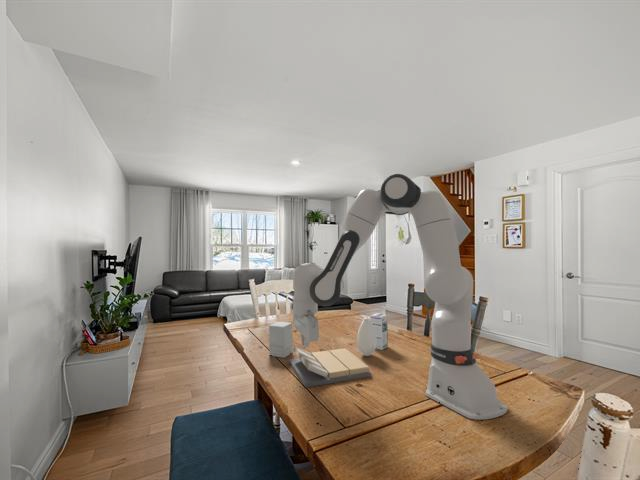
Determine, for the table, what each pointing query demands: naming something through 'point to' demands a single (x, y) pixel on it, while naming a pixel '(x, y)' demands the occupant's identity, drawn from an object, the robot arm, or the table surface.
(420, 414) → the table surface
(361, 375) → the floor panel
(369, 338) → the sauce bottle
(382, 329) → the syrup box
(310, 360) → the whitewashed plank
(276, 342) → the supplement box
